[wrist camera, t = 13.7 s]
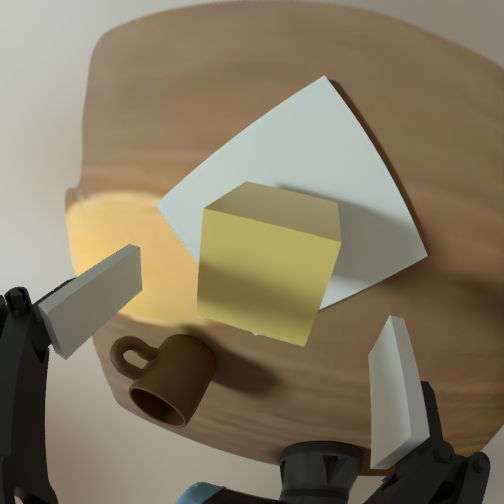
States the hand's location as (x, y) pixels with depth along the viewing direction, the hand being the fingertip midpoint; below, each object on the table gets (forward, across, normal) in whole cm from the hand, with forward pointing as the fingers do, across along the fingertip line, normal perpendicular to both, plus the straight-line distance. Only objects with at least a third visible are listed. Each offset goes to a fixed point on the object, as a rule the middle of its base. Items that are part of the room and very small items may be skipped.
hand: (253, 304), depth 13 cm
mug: (+11, -10, -17) cm, 23 cm away
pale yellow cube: (+8, 0, +1) cm, 8 cm away
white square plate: (+11, 0, +1) cm, 11 cm away
